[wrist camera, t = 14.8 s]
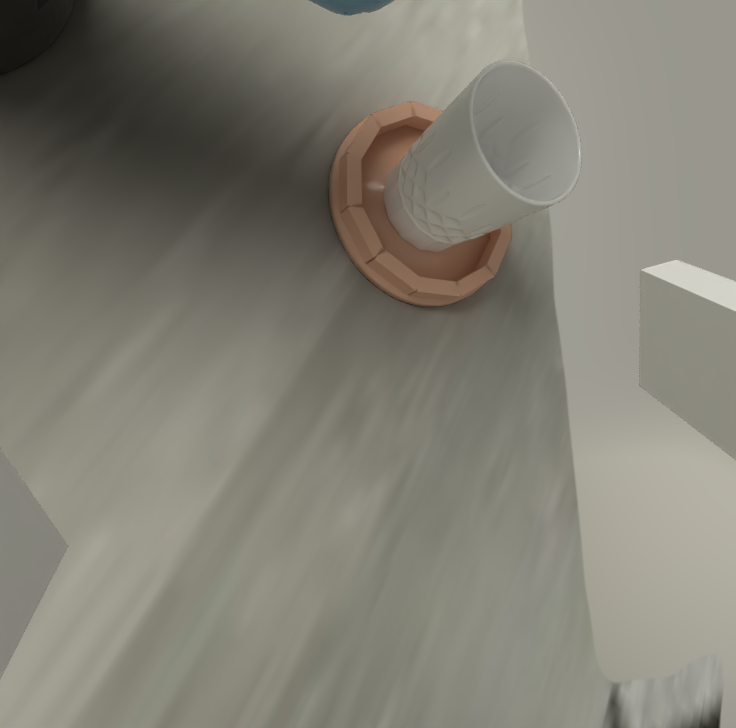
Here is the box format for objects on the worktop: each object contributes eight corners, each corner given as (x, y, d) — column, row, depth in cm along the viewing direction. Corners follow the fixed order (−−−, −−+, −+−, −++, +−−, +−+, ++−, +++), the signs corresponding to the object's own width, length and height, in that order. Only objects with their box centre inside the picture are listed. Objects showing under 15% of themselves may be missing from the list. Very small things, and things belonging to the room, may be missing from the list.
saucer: (290, 144, 33) (301, 128, 31) (444, 94, 39) (460, 78, 37) (391, 340, 35) (407, 335, 33) (523, 262, 41) (542, 254, 39)
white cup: (412, 128, 36) (513, 31, 28) (486, 209, 39) (600, 142, 30) (353, 202, 33) (443, 119, 25) (436, 284, 36) (547, 235, 27)
